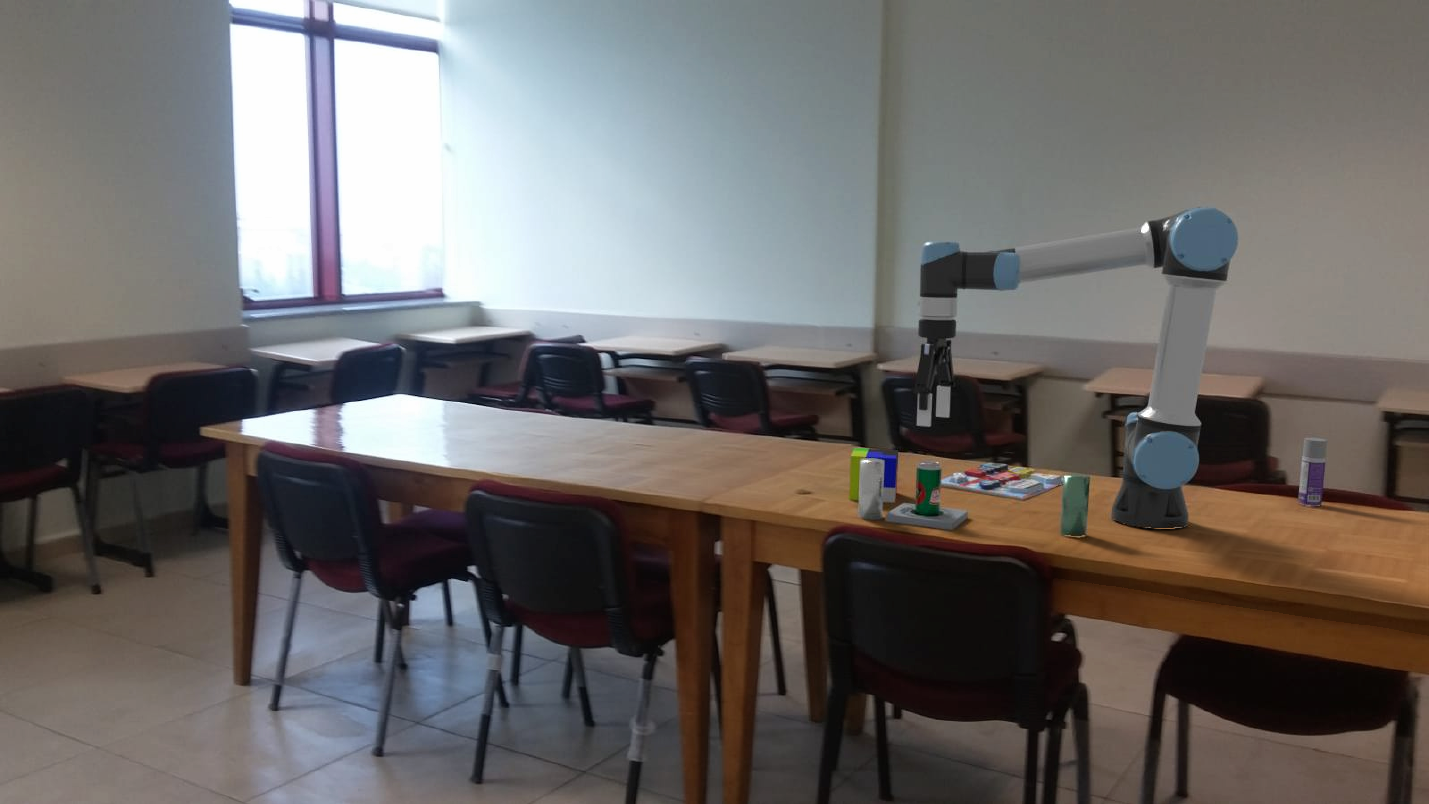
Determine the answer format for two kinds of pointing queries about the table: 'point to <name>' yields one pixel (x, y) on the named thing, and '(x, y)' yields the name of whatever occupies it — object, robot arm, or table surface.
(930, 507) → the soda can
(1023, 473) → the puzzle board
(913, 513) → the socket board
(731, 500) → the table surface
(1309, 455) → the container
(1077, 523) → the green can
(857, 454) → the puzzle toy
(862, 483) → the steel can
